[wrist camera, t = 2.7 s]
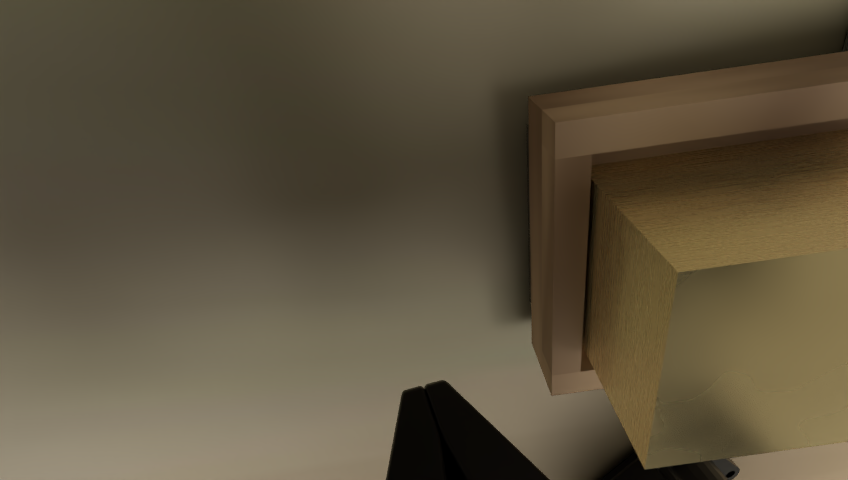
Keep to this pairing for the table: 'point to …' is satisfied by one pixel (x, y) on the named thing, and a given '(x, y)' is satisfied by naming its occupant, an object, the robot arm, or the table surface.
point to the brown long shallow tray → (639, 138)
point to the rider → (722, 297)
